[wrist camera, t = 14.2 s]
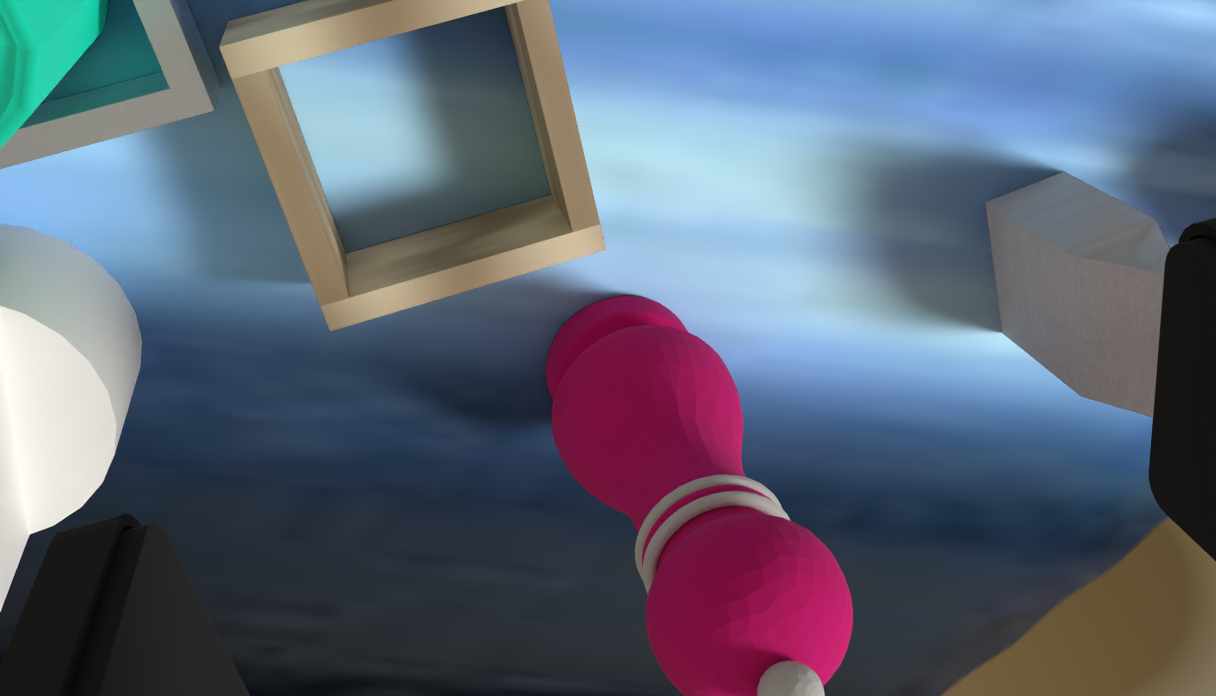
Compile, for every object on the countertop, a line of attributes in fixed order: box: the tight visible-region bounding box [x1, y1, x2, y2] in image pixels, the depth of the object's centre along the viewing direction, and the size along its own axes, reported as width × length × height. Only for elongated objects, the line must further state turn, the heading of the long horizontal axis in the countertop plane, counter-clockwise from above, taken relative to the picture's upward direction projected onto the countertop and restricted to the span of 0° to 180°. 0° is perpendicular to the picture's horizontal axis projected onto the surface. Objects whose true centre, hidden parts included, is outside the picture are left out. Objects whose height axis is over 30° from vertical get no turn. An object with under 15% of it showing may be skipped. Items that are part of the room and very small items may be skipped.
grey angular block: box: [985, 171, 1170, 418], centre depth 44 cm, size 4×7×10 cm, turn 17°
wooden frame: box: [219, 0, 606, 331], centre depth 37 cm, size 10×10×4 cm
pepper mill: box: [546, 296, 853, 696], centre depth 37 cm, size 7×7×20 cm
